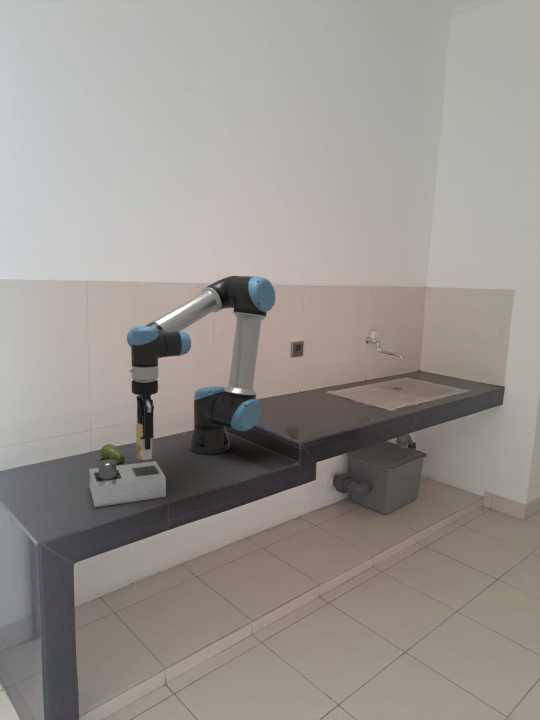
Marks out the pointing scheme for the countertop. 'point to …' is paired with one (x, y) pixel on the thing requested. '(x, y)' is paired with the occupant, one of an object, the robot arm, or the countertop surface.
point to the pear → (112, 453)
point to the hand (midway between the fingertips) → (145, 455)
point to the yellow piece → (139, 441)
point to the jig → (126, 482)
